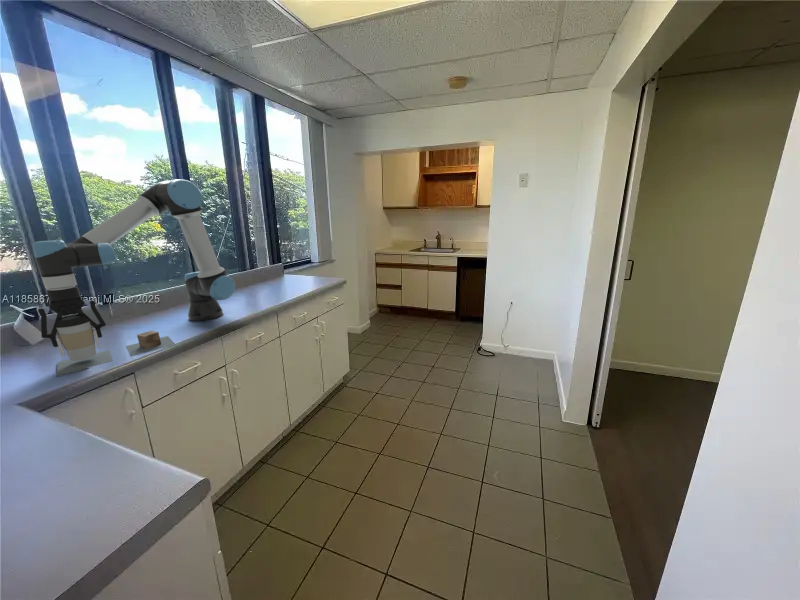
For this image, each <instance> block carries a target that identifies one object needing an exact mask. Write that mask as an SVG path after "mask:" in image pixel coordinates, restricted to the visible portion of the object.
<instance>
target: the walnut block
mask: <svg viewBox="0 0 800 600" xmlns="http://www.w3.org/2000/svg"><path fill="white" fill-rule="evenodd" d="M136 335H137V336H136V337H137V341H138V343H139V345H140V347H143V348H147V349H148V348H151V347H154V346H157V345H160V344H161V341H160V338H161V337H160V333H159V331H154V330H148V331H145V332H141V333H139V334H136Z"/></svg>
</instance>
